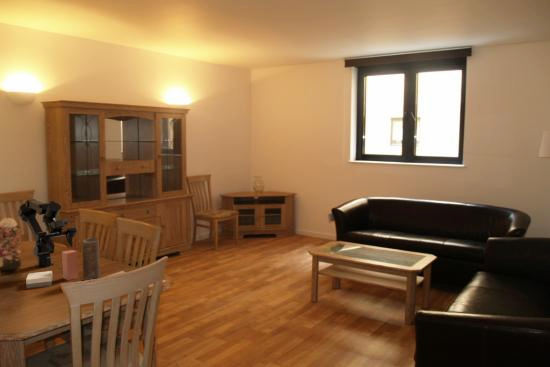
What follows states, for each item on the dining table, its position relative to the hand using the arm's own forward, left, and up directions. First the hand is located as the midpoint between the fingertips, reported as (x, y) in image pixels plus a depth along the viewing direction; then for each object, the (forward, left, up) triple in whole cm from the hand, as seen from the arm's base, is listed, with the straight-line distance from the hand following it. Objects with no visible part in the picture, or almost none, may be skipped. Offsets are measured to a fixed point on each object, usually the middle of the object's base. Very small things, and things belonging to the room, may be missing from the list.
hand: (62, 248), depth 221 cm
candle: (+19, 0, -13) cm, 23 cm away
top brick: (+7, -2, -13) cm, 15 cm away
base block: (+1, -14, -13) cm, 19 cm away
